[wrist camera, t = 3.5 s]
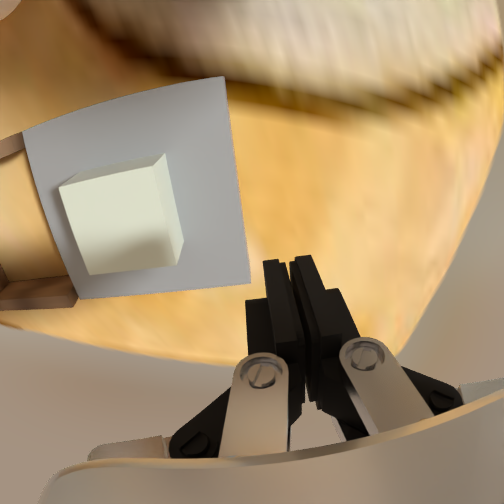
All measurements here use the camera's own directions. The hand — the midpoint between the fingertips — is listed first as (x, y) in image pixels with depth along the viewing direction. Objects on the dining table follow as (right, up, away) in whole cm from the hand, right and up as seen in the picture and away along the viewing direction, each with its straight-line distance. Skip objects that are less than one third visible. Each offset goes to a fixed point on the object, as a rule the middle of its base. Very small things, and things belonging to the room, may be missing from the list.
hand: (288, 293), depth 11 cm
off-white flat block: (-9, +4, +8) cm, 13 cm away
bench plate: (-9, +5, +10) cm, 15 cm away
